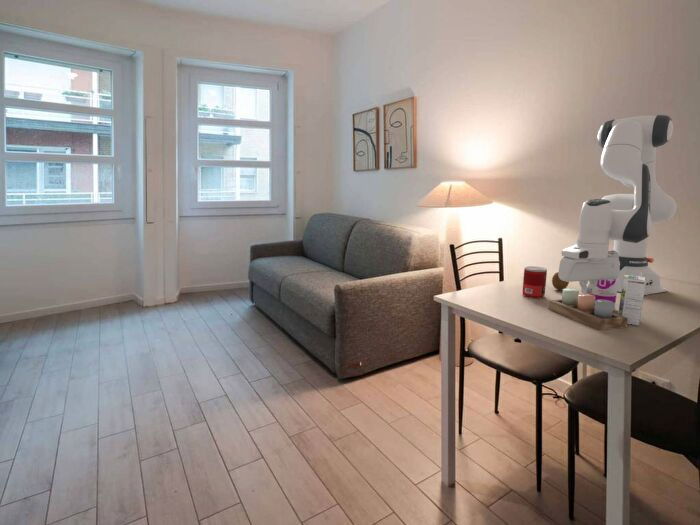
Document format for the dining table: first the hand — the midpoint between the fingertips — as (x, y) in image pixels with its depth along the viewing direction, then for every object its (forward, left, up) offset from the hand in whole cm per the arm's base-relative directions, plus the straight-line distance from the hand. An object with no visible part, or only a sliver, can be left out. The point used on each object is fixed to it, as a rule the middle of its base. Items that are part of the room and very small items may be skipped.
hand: (586, 293), depth 131 cm
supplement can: (-13, -7, -8) cm, 17 cm away
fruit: (-17, -32, -8) cm, 37 cm away
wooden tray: (0, 0, -8) cm, 8 cm away
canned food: (-1, -27, -8) cm, 28 cm away
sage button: (0, -7, -6) cm, 9 cm away
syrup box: (-10, +7, -8) cm, 15 cm away
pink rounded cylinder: (0, 0, -6) cm, 6 cm away
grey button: (0, +7, -6) cm, 9 cm away
